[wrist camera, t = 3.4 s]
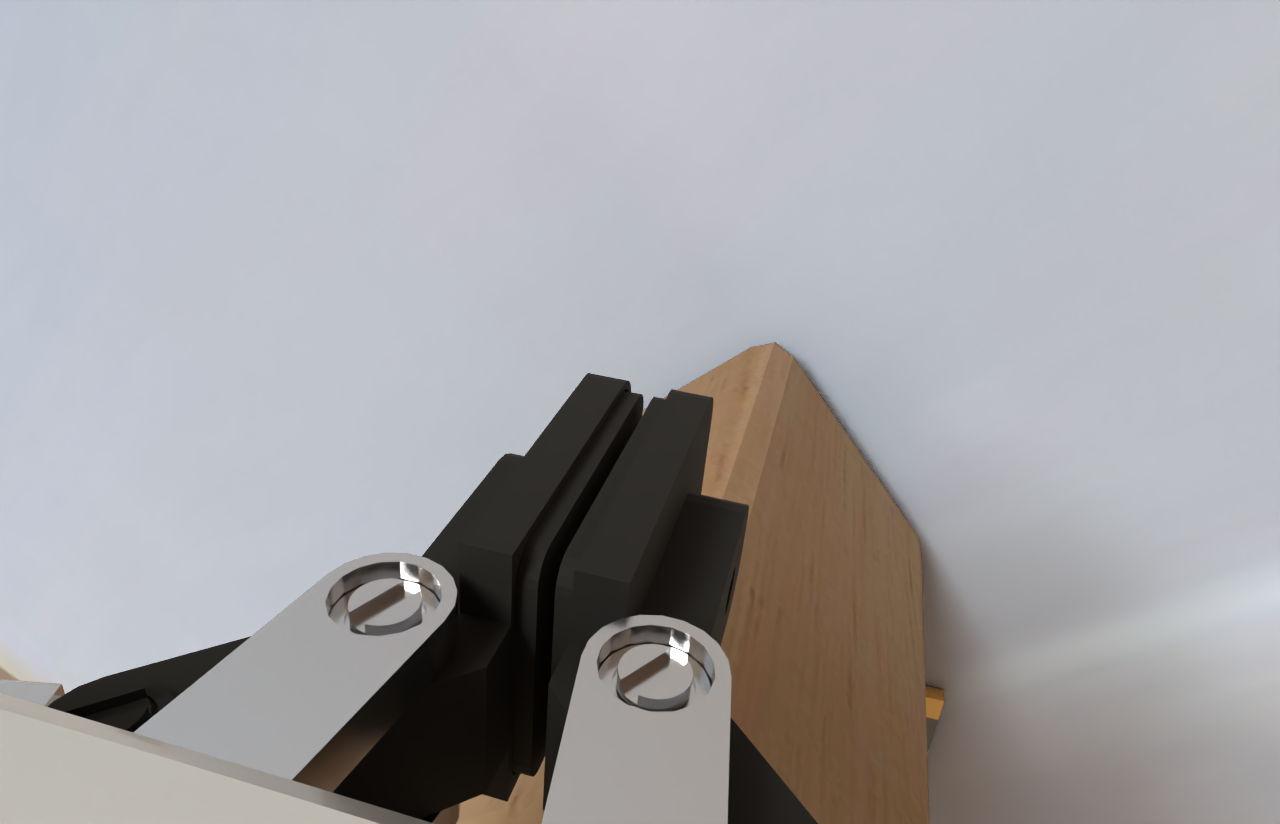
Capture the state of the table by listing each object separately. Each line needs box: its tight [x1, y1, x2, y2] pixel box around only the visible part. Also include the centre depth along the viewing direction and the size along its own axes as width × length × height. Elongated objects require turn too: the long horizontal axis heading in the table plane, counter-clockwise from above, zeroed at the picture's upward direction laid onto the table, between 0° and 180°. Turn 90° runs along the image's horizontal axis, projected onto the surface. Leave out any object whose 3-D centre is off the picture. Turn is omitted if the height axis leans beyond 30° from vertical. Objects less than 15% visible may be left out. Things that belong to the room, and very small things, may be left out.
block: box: [456, 342, 929, 824], centre depth 25 cm, size 10×10×20 cm
